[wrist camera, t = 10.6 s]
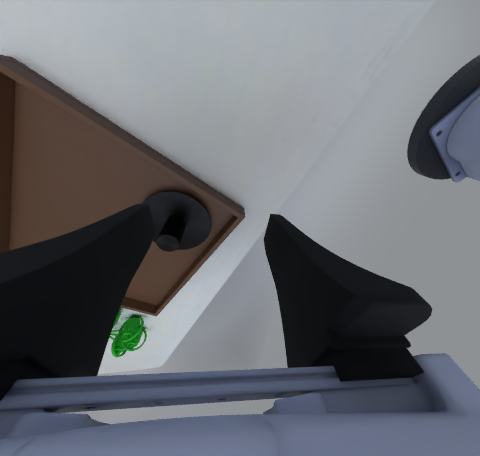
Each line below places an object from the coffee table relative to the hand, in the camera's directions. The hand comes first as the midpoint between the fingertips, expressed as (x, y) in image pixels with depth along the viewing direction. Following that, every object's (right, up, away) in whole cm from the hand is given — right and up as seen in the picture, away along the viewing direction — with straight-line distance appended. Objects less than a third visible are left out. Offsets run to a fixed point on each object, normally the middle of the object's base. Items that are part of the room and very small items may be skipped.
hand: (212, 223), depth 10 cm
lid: (-6, 0, +9) cm, 11 cm away
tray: (-14, -1, +11) cm, 18 cm away
